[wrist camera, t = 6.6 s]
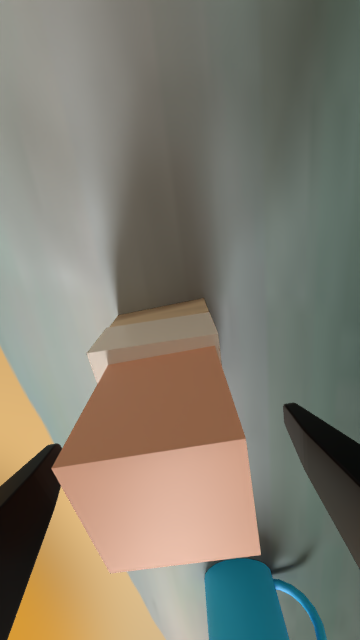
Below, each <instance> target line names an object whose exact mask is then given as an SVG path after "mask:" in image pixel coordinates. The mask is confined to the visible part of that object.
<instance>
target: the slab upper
mask: <svg viewBox="0 0 360 640" xmlns="http://www.w3.org/2000/svg"><path fill="white" fill-rule="evenodd" d="M210 346H215V348H216V351H217V354H218V357H219V360H220V363H221V355H220V346H219V337H218V332H217V330H216V327H215V324H214V322H213V319H212V317H211V314H210V312H206V313H199V314H193V315H186V316H180V317H173V318H167V319H160V320H154V321H148V322H141V323H135V324H128V325H122V326H115V327H109V328H106V329H105V330H104V332H103V333H102V334H101V335H100V337H99V338H98V339H97V341H96V342H95V343H94V344H93V346H92V347H91V348H90V350H89V351H88V352H87V356H88V359H89V362H90V364H91V367H92V370H93V373H94V376H95V379H96V382H97V384H98V382H99V381H100V379H101V377H102V375H103V373H104V371H105V370H106V368H107V366H108V365H110V364H116V363H121V362H127V361H132V360H138V359H143V358H149V357H154V356H160V355H166V354H171V353H177V352H182V351H188V350H193V349H199V348H204V347H210ZM221 366H222V363H221Z"/></svg>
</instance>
